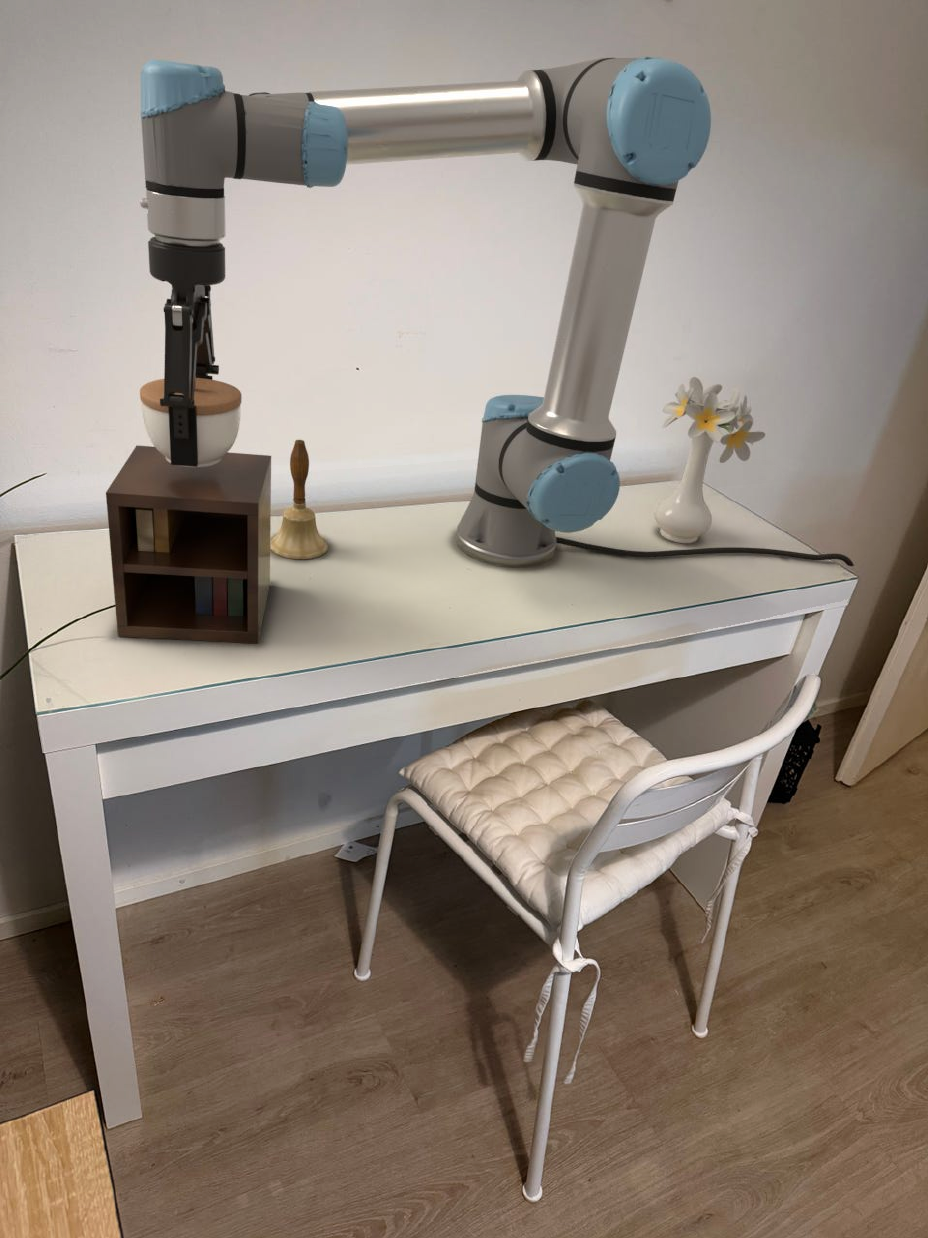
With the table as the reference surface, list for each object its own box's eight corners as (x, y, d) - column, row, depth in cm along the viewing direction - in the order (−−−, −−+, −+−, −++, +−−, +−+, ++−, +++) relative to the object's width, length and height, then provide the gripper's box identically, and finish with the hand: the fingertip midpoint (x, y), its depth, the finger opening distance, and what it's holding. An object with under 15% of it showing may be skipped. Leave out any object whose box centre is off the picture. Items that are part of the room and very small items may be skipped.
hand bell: (289, 564, 127) (292, 455, 119) (258, 541, 132) (258, 435, 124) (338, 552, 132) (344, 446, 124) (307, 530, 137) (310, 427, 129)
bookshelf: (269, 584, 121) (271, 455, 113) (258, 643, 109) (258, 503, 100) (144, 577, 119) (136, 445, 110) (117, 636, 106) (105, 492, 98)
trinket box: (217, 481, 99) (216, 396, 94) (125, 464, 100) (119, 379, 96) (256, 451, 108) (256, 372, 104) (171, 436, 109) (168, 357, 105)
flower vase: (691, 566, 142) (733, 409, 130) (617, 519, 155) (649, 372, 143) (750, 556, 148) (796, 405, 136) (674, 511, 162) (709, 370, 149)
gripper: (170, 220, 102) (177, 412, 113) (121, 252, 82) (136, 482, 93) (238, 227, 103) (239, 417, 114) (207, 261, 83) (212, 487, 94)
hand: (193, 446), depth 104 cm, fingers closed on trinket box, 11 cm apart
